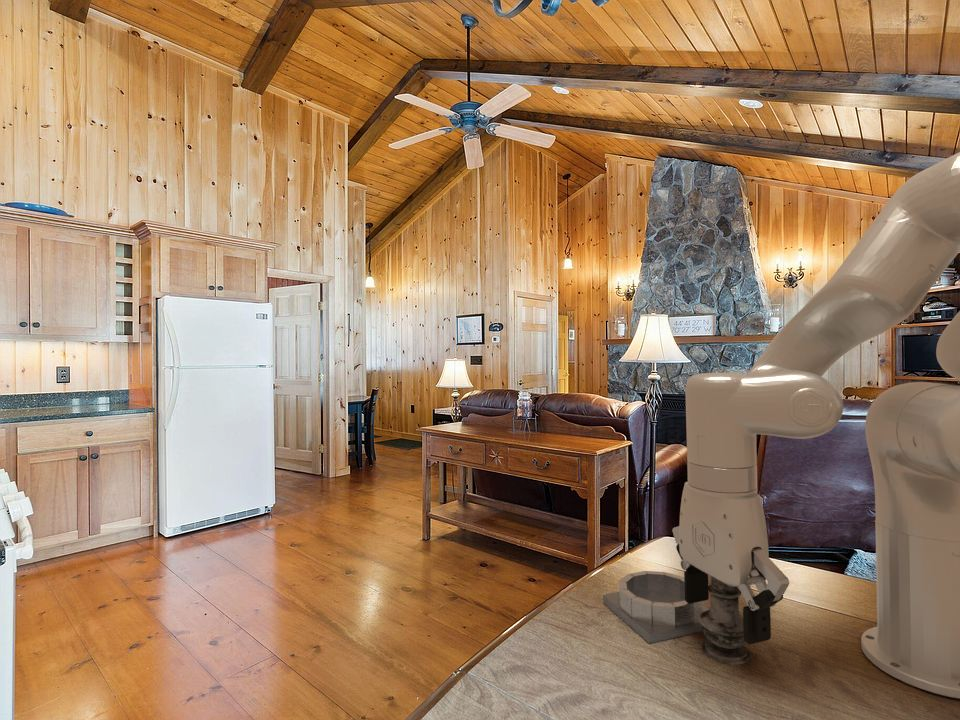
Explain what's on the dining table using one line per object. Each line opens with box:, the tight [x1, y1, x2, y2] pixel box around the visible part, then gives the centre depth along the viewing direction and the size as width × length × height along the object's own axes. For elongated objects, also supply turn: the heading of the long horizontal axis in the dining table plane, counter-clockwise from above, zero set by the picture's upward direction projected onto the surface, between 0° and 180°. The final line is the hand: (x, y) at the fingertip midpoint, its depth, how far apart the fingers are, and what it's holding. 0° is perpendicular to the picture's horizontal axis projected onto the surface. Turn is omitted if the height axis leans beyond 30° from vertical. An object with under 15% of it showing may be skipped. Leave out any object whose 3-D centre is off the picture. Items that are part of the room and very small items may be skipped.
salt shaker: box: [698, 576, 751, 666], centre depth 63 cm, size 6×6×12 cm
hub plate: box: [602, 570, 710, 644], centre depth 72 cm, size 11×11×4 cm
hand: (724, 619), depth 63 cm, fingers open, 9 cm apart
